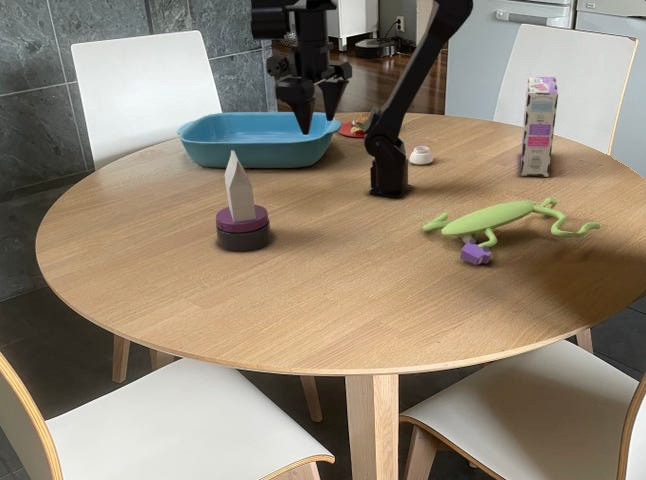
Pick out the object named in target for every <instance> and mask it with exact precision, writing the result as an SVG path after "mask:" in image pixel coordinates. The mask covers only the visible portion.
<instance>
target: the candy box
mask: <svg viewBox="0 0 646 480" xmlns="http://www.w3.org/2000/svg"><path fill="white" fill-rule="evenodd" d="M526 80H527V81H526V92H525V101H524V102H525V103H524V113H523V114H524V115H523V125H522V138H521V139H522V140H521V154H520V157H521V158H520V176H524V177H541V178H542V177H545V178H548V177H549V176H550V168H551V160H552V159H551V158H552V149H553V139H554V133H555V132H554V131H555V125H556V124H555V123H556V116H557V107H558V100H559V99H558V98H559V89H558V85H557V79H556V76H527V79H526Z"/></svg>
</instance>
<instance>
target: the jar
mask: <svg viewBox="0 0 646 480" xmlns="http://www.w3.org/2000/svg"><path fill="white" fill-rule="evenodd" d="M215 228H216V235H217V241H218V242H217V243H218V246H219V247H220V248H222V249H223V250H225V251H230V252H238V253H242V252H250V251H255V250H259V249H261V248H263V247H266V246H267V245H268V244H270V243H271V241H272V230H271V222H270V219H269V218H268V222H267V224H266V225H264V226H263V227H261V228H259V229H256V230H253V231H248V232H239V233H236V232H227V231H223V230H221V229H219V228H218V226H217V224H216V223H215Z"/></svg>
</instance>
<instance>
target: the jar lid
mask: <svg viewBox="0 0 646 480" xmlns="http://www.w3.org/2000/svg"><path fill="white" fill-rule="evenodd" d="M254 207H255V215H256V220H248V221H241V222H234V221H233V218H232V215H231V212H230V209H229V206H227V207H223V209H220V210H219V211H218V212H217V213H216V214H215V225H216V224H217V226H218V228H219V229H221V230H223V231H227V232H236V233H239V232H248V231H253V230H256V229H259V228H261V227H263V226H264V225H266V224H267V222H268V219H269V213H268V210H267V208H265V206H261V205H259V204H254Z"/></svg>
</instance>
